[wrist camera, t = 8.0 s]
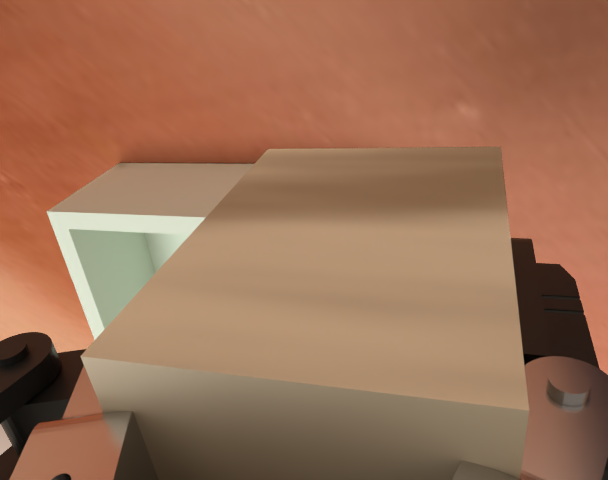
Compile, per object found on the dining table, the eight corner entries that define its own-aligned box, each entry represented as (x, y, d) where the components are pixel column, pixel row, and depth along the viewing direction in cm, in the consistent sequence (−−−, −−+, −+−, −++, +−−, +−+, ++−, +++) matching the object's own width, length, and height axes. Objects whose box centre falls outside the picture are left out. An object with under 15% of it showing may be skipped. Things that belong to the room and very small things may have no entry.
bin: (119, 162, 34) (46, 211, 28) (353, 164, 29) (324, 221, 24) (171, 347, 41) (122, 415, 35) (366, 369, 37) (345, 451, 31)
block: (268, 148, 12) (80, 356, 6) (500, 146, 11) (529, 410, 5) (293, 322, 15) (174, 586, 9) (486, 339, 13) (495, 667, 7)
